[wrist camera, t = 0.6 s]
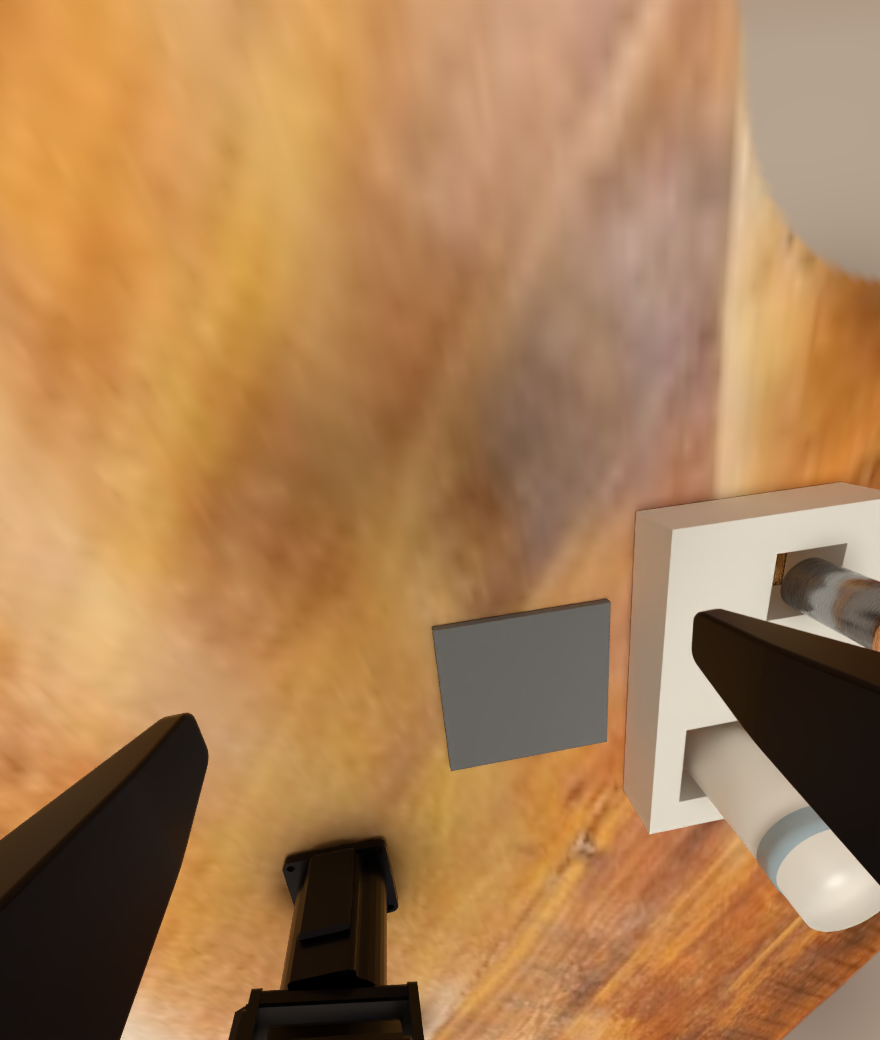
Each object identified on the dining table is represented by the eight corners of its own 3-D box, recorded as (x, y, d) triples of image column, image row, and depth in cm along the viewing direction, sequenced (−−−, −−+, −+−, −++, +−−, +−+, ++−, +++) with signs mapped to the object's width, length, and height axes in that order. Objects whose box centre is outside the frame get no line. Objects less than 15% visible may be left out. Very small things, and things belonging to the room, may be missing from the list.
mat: (603, 736, 27) (606, 741, 26) (449, 765, 26) (450, 771, 26) (606, 599, 24) (610, 602, 23) (432, 627, 23) (432, 631, 22)
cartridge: (720, 740, 28) (888, 919, 19) (655, 753, 28) (793, 942, 18) (728, 684, 27) (914, 848, 17) (659, 697, 26) (812, 871, 17)
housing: (784, 757, 29) (827, 796, 27) (623, 789, 28) (649, 834, 26) (841, 481, 23) (904, 495, 20) (635, 511, 22) (672, 529, 19)
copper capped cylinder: (830, 607, 22) (961, 672, 17) (770, 617, 22) (885, 686, 17) (843, 547, 21) (988, 598, 16) (780, 557, 21) (907, 612, 16)
